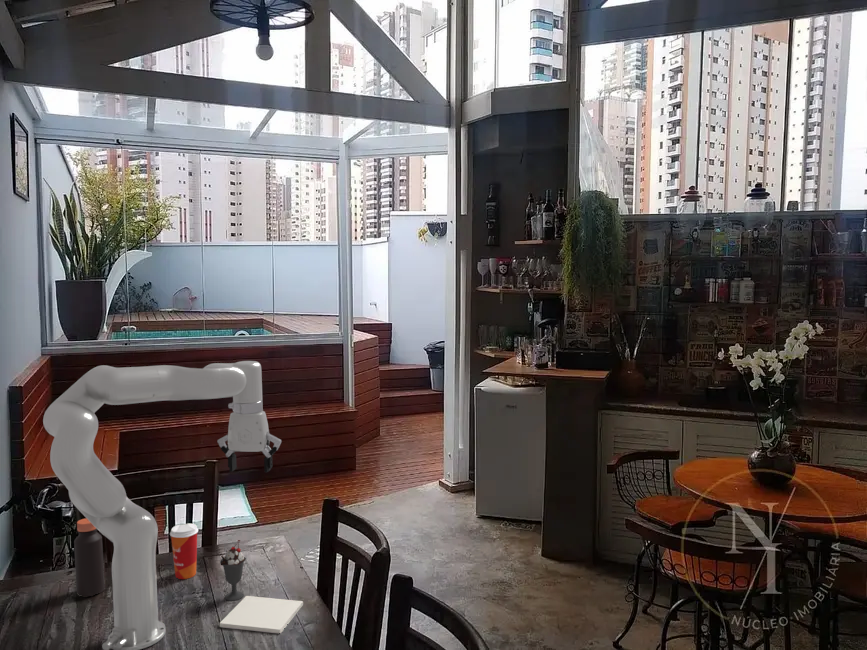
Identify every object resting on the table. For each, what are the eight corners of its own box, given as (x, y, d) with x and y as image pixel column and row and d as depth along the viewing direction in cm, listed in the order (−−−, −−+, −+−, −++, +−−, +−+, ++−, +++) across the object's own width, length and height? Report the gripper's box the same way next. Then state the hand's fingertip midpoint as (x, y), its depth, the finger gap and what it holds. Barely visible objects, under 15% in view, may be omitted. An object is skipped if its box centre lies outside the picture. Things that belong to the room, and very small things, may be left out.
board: (280, 633, 160) (280, 629, 160) (219, 627, 163) (219, 623, 163) (303, 604, 174) (303, 601, 174) (246, 599, 177) (246, 595, 177)
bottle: (103, 595, 180) (99, 523, 178) (75, 599, 177) (71, 527, 176) (105, 584, 186) (102, 514, 184) (78, 588, 184) (74, 518, 182)
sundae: (251, 590, 182) (249, 537, 180) (241, 603, 175) (239, 547, 174) (227, 589, 182) (226, 536, 181) (217, 601, 176) (215, 546, 174)
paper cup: (170, 572, 193) (168, 525, 192) (198, 567, 196) (196, 521, 195) (172, 583, 186) (170, 535, 185) (201, 578, 189) (199, 530, 188)
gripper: (210, 410, 174) (213, 474, 175) (274, 411, 172) (277, 475, 174) (222, 404, 181) (225, 465, 183) (284, 405, 179) (286, 467, 181)
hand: (250, 470), depth 178 cm, fingers open, 9 cm apart
